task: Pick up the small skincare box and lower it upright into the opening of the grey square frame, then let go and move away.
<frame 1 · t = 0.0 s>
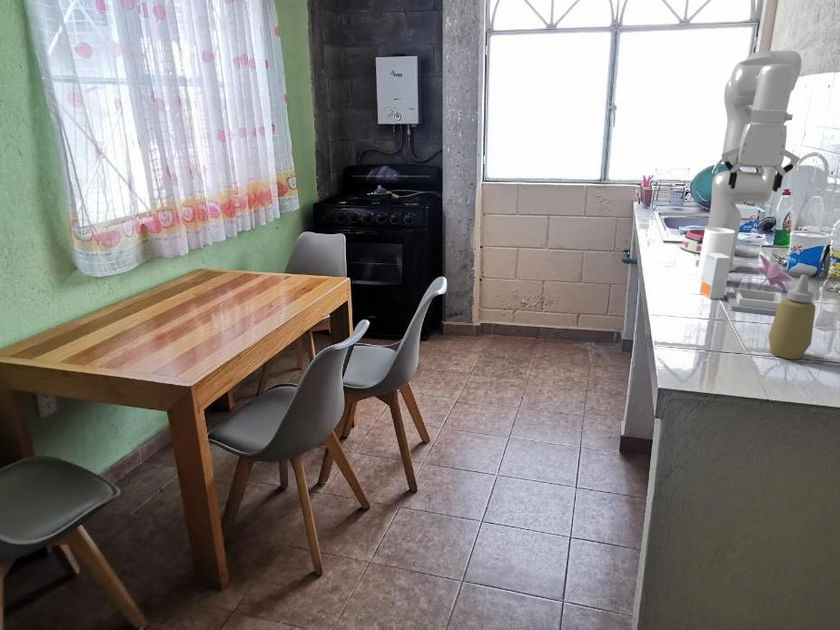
hand: (753, 189, 154), 31 cm above the table, tool pointing down, fingers open, 9 cm apart
cup: (710, 281, 187), on the table
squeeze bottle: (785, 355, 132), on the table
skincare box: (711, 296, 173), on the table
lily: (769, 290, 181), on the table
grey square frame: (756, 306, 165), on the table
dog bowl: (706, 251, 229), on the table
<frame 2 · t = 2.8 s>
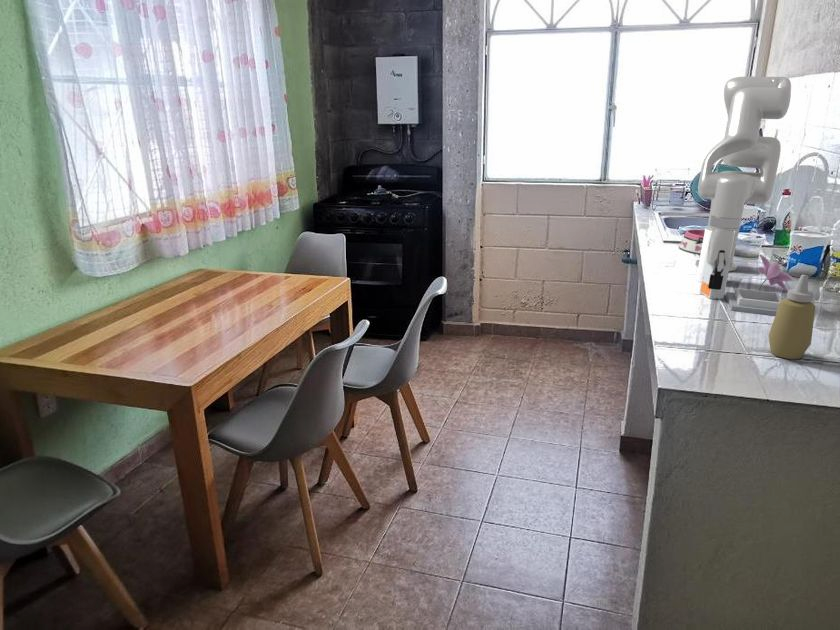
hand: (713, 284, 172), 3 cm above the table, tool pointing down, fingers closed on skincare box, 7 cm apart
skincare box: (711, 296, 173), on the table, touching gripper
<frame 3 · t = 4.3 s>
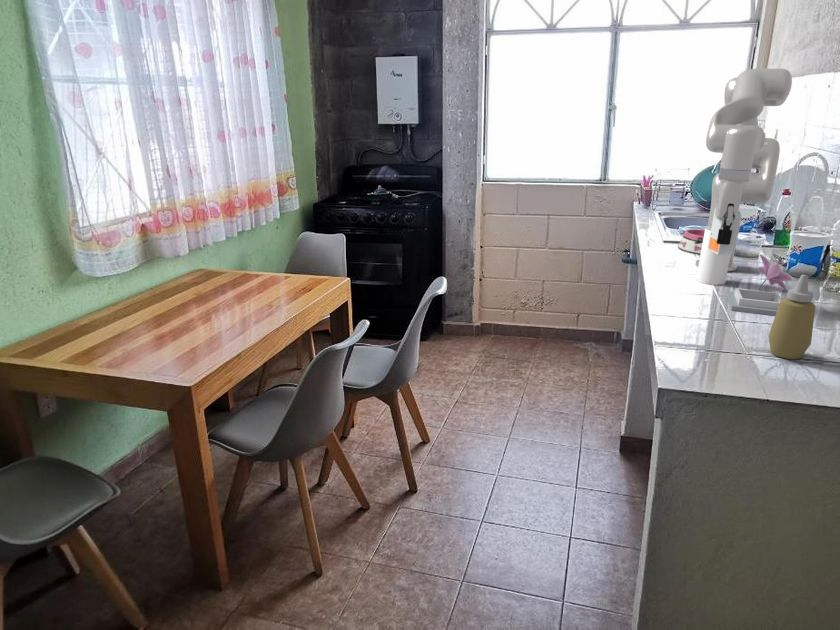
hand: (721, 240, 168), 16 cm above the table, tool pointing down, fingers closed on skincare box, 7 cm apart
skincare box: (719, 253, 169), point 12 cm above the table, touching gripper
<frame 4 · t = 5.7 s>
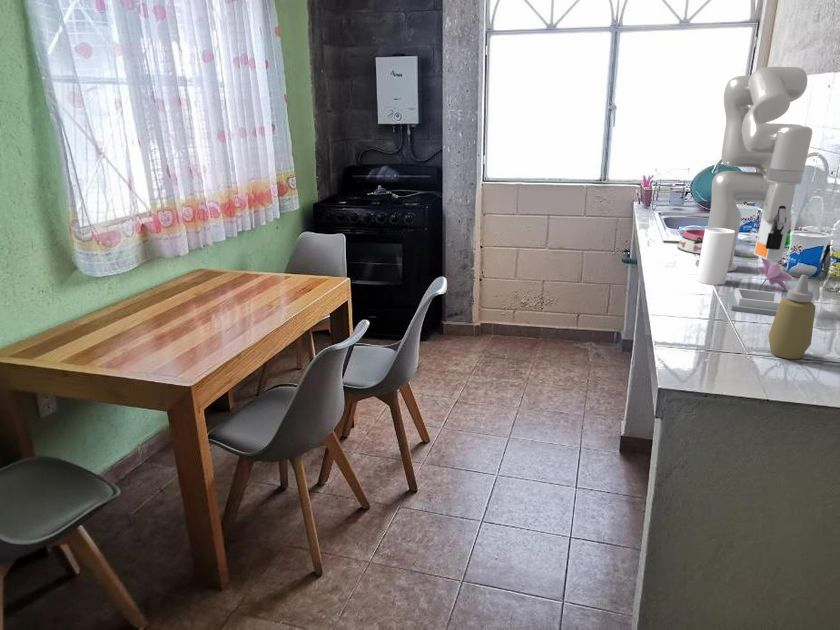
hand: (770, 245, 159), 17 cm above the table, tool pointing down, fingers closed on skincare box, 7 cm apart
skincare box: (767, 258, 160), point 13 cm above the table, touching gripper
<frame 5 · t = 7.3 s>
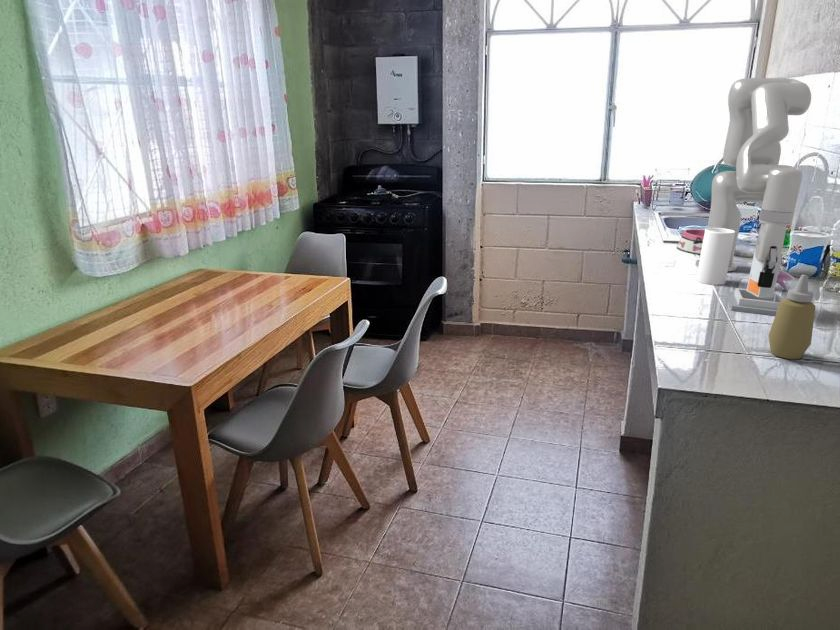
hand: (761, 282, 162), 7 cm above the table, tool pointing down, fingers closed on skincare box, 7 cm apart
skincare box: (759, 295, 164), point 3 cm above the table, touching gripper
when the fingers open (5 cm above the table, at t = 8.7 s): skincare box drops 1 cm, resting in grey square frame.
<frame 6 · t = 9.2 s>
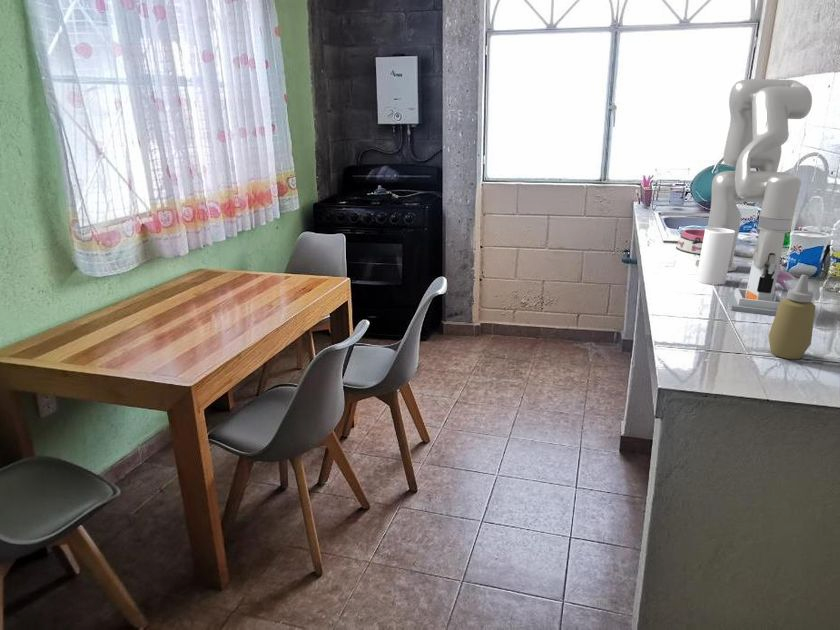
hand: (760, 287, 163), 5 cm above the table, tool pointing down, fingers open, 9 cm apart
skincare box: (756, 307, 165), resting in grey square frame
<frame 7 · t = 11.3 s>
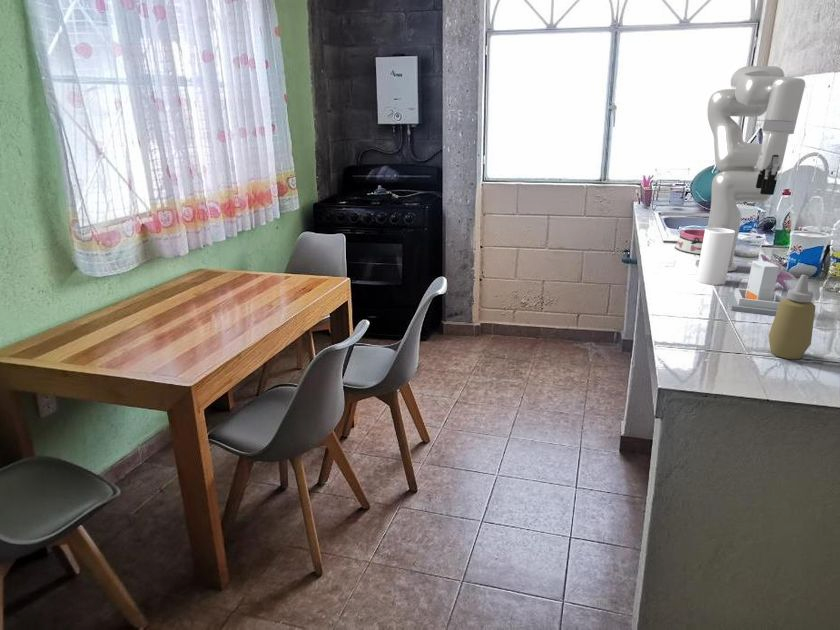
hand: (764, 191, 169), 29 cm above the table, tool pointing down, fingers open, 9 cm apart
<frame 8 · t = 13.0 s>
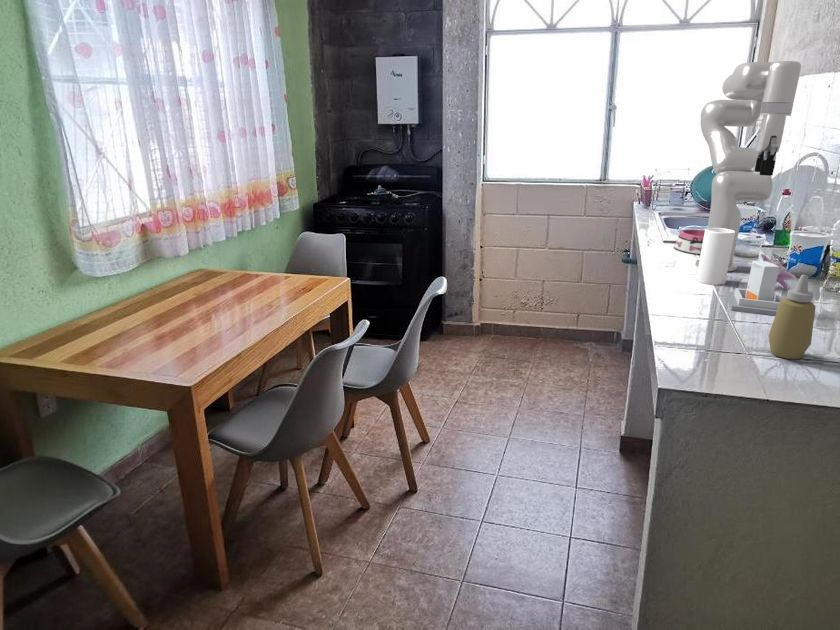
hand: (763, 173, 172), 33 cm above the table, tool pointing down, fingers open, 9 cm apart
at the end: skincare box 0.1 cm off-centre on the grey square frame, point 0.0 cm above the grey square frame's base; skincare box tilted 0°; the gripper is holding nothing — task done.
